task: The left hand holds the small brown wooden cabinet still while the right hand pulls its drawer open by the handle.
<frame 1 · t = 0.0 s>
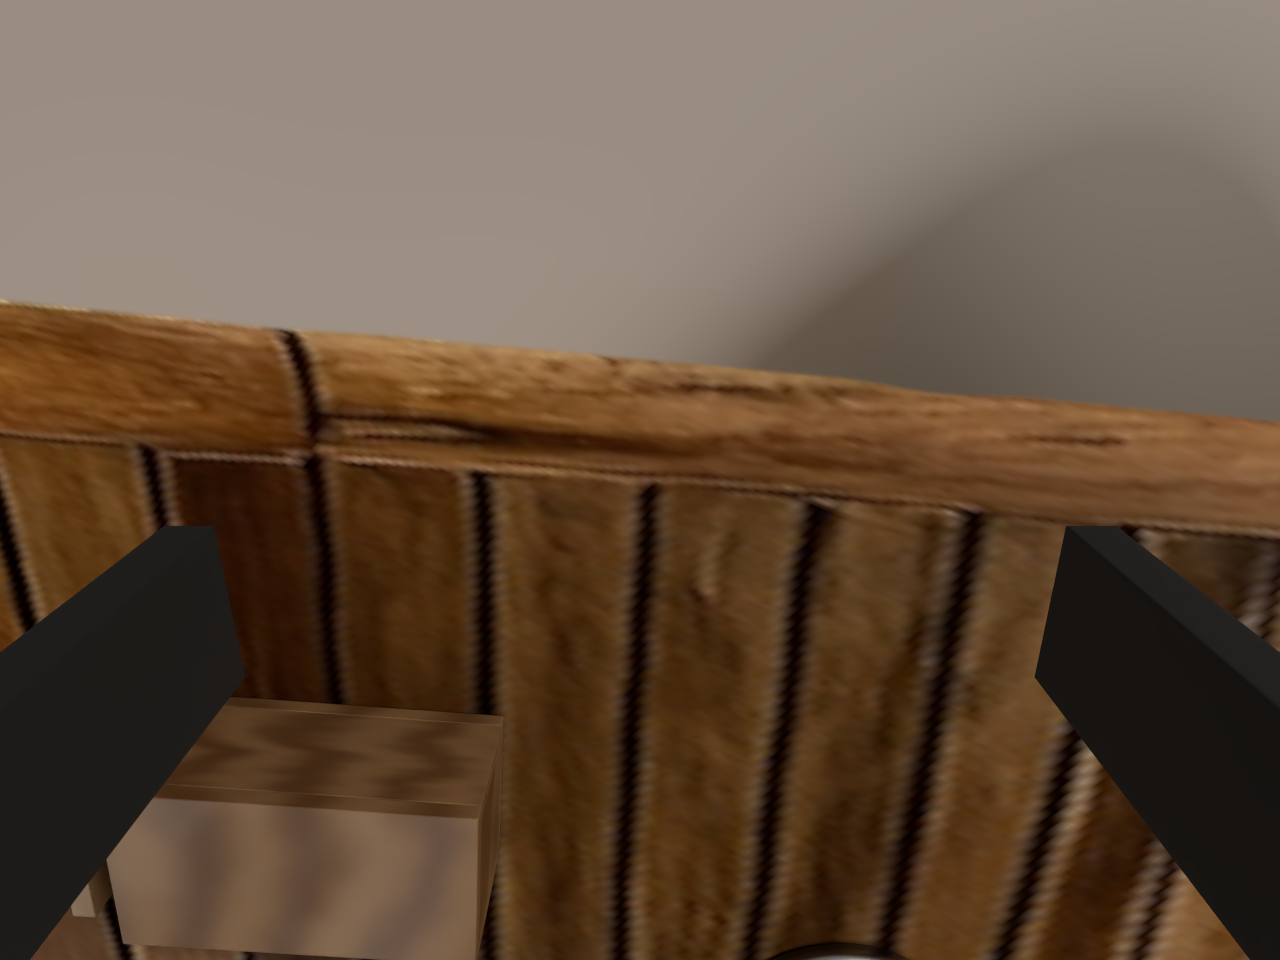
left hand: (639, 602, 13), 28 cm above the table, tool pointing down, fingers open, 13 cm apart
drawer: (204, 816, 45), point 4 cm above the table, slide at 1.9 cm
cabinet: (347, 773, 49), on the table
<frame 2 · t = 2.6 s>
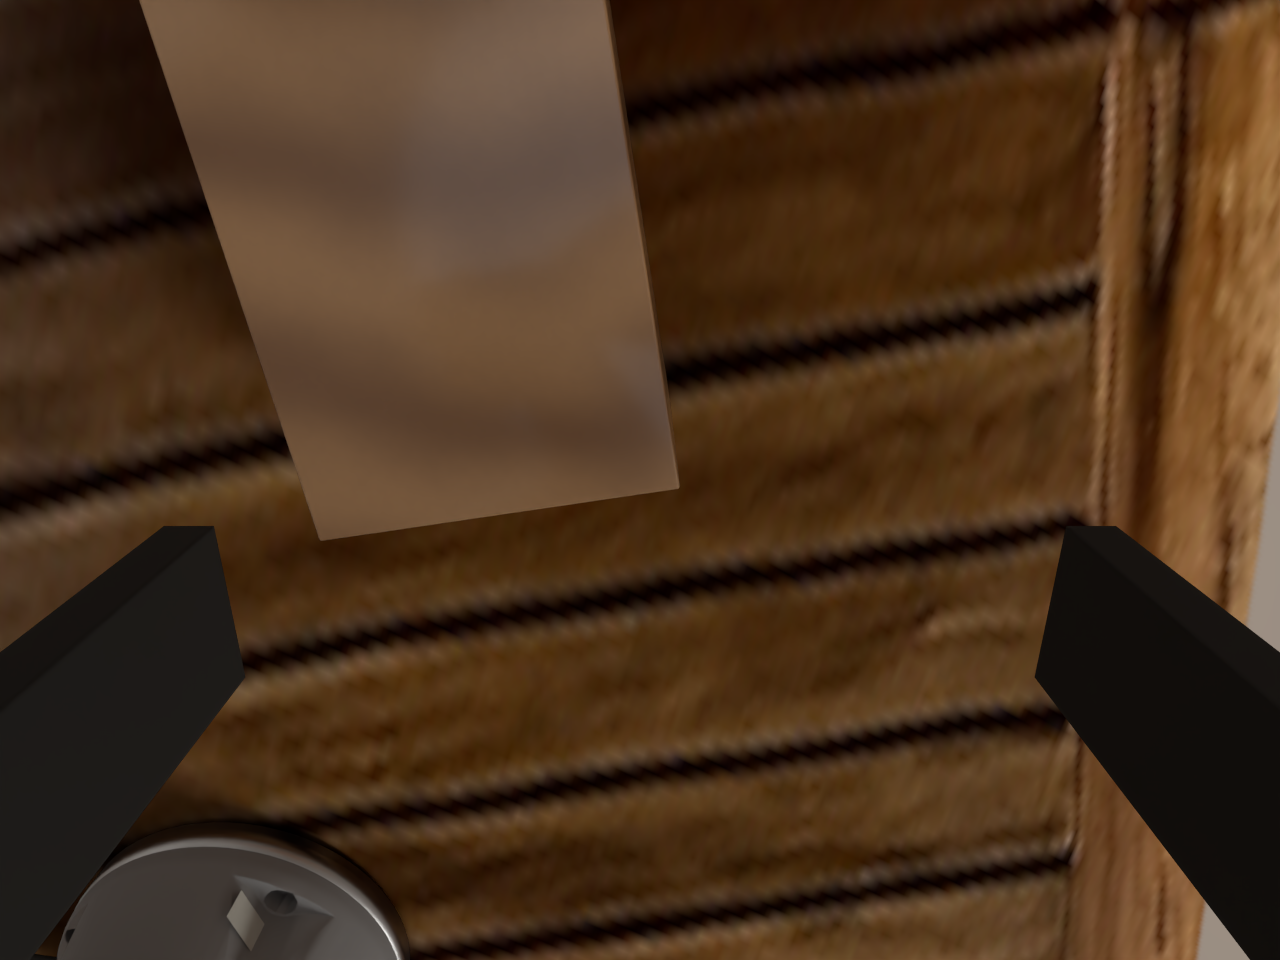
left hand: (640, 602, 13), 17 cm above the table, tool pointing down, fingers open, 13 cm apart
cabinet: (475, 155, 26), on the table
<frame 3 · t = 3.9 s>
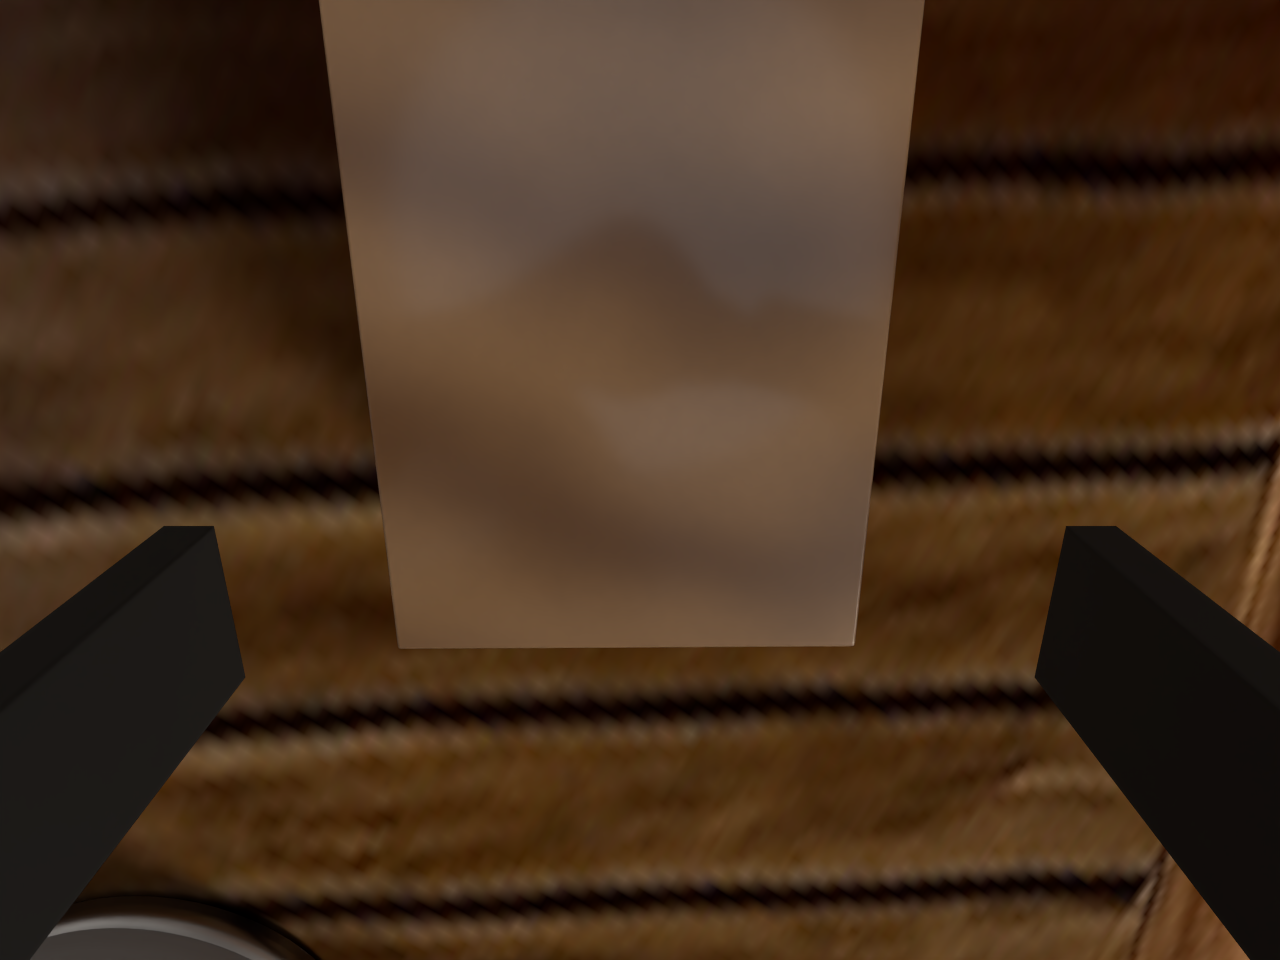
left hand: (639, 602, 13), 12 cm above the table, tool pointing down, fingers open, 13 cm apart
cabinet: (626, 190, 22), on the table
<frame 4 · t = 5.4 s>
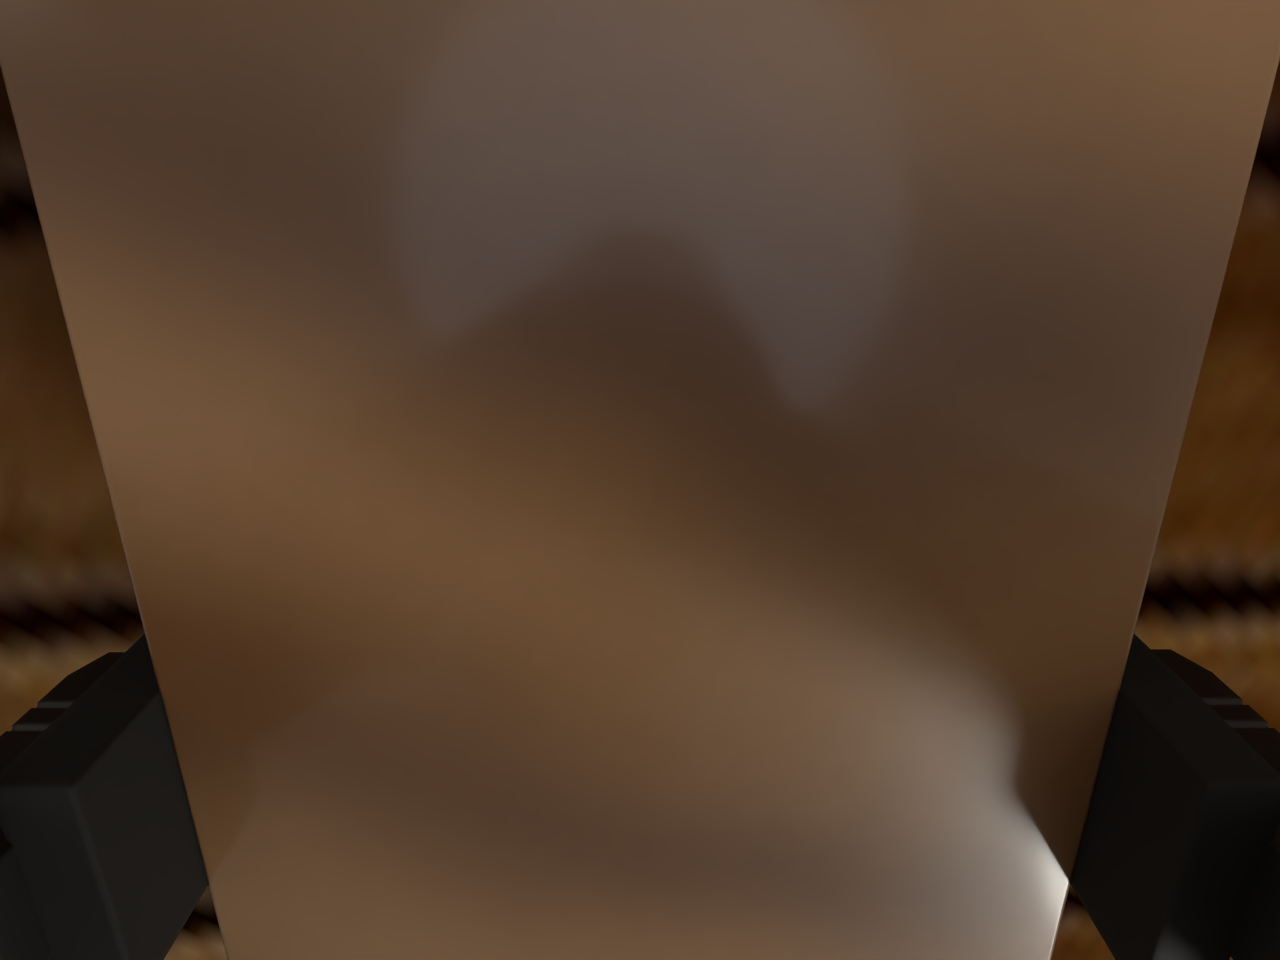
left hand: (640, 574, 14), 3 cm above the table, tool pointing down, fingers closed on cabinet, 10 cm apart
cabinet: (639, 195, 14), on the table, touching left hand
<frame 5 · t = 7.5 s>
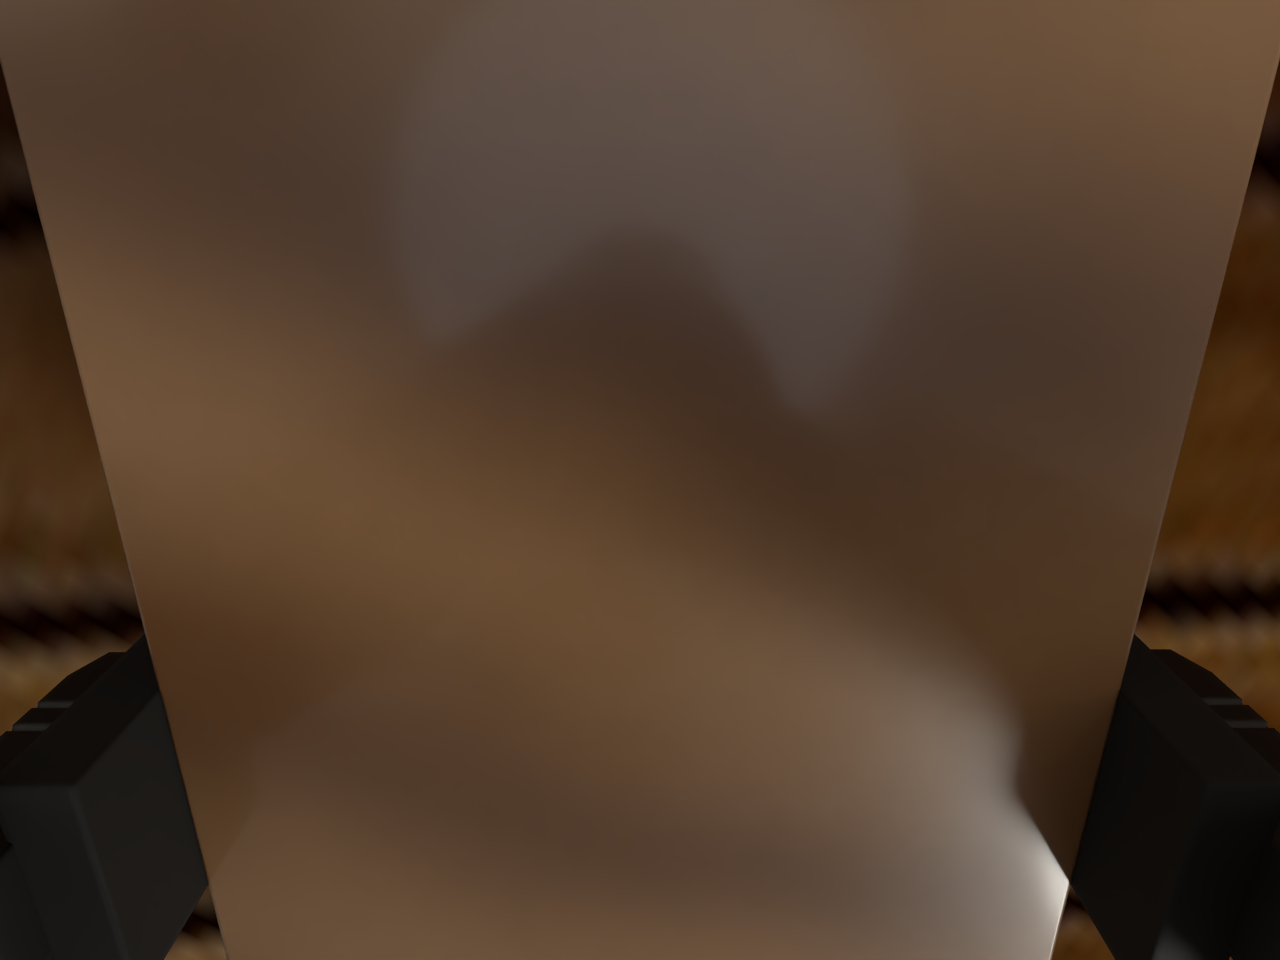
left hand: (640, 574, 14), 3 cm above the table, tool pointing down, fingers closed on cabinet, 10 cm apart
cabinet: (639, 195, 14), on the table, touching left hand
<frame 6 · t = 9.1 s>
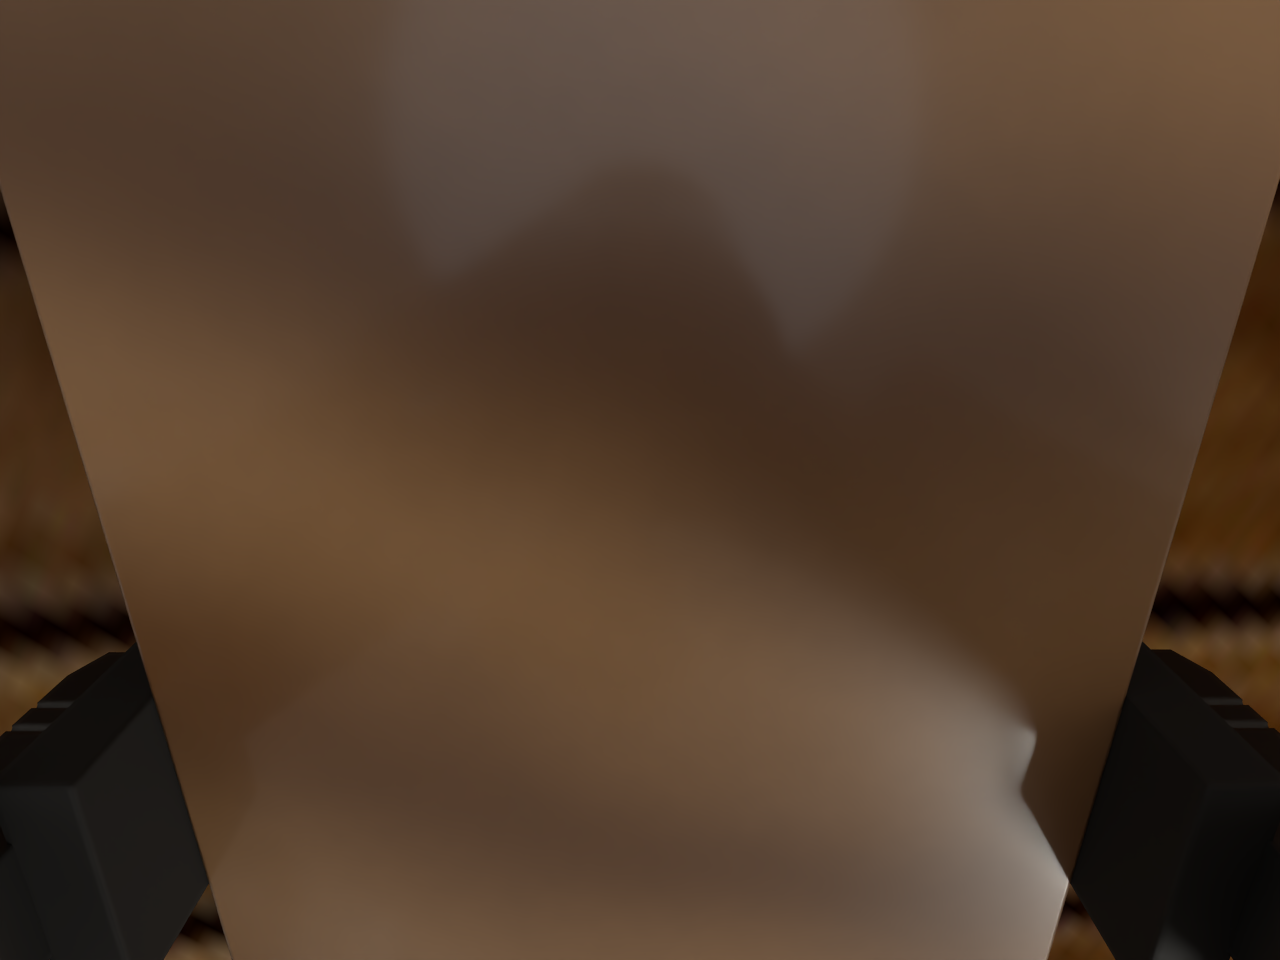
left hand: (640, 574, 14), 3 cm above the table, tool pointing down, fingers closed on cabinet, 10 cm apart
cabinet: (639, 175, 14), on the table, touching left hand
when the left hand's fingers open (3 cm above the table, at t = 10.2 s): cabinet stays where it is, on the table.
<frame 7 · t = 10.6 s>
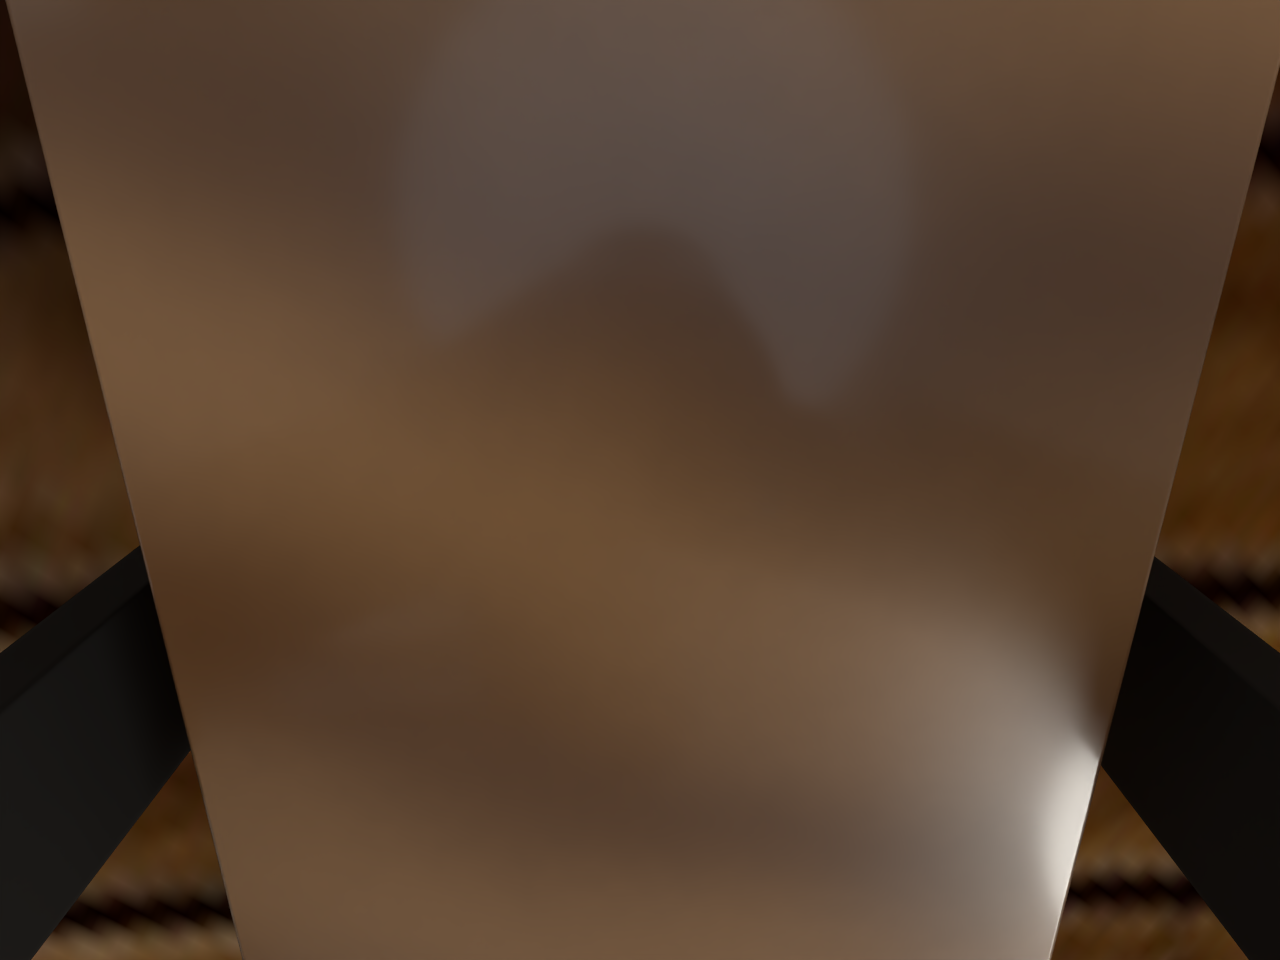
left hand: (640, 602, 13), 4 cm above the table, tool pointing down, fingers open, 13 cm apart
cabinet: (645, 165, 14), on the table
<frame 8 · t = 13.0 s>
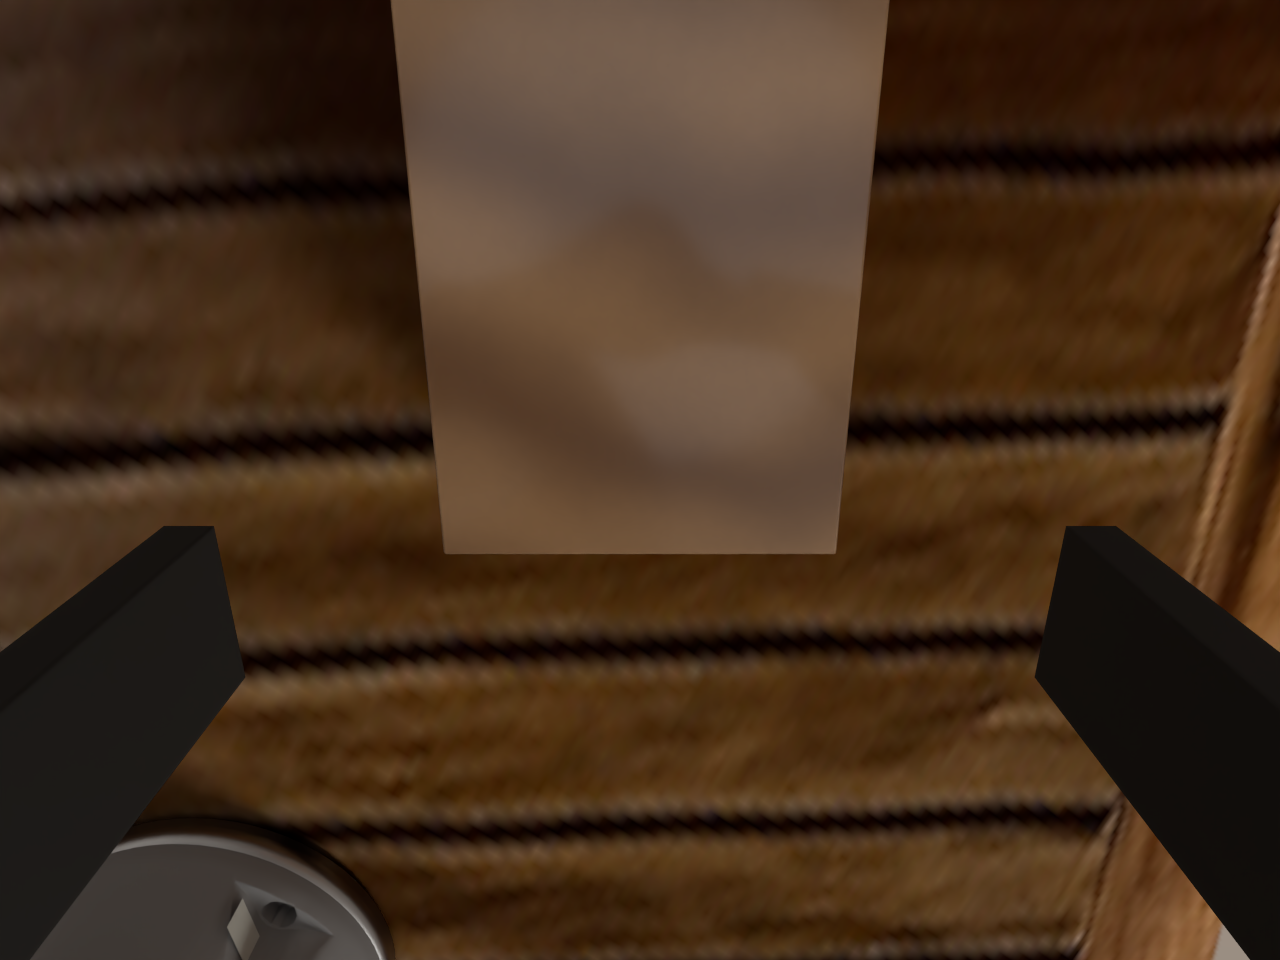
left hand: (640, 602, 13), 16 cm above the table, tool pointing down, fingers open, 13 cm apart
cabinet: (639, 165, 25), on the table
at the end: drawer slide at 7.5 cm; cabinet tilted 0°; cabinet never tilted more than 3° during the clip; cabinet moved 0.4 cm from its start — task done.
